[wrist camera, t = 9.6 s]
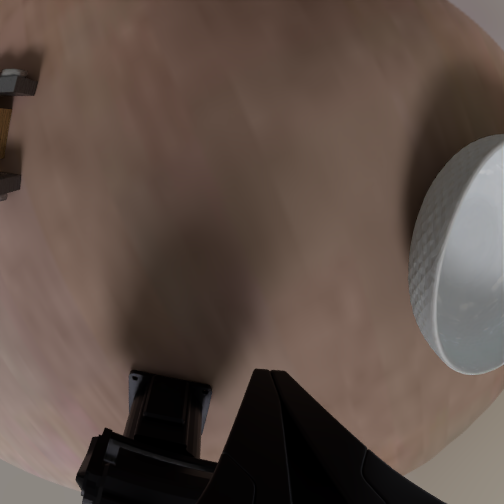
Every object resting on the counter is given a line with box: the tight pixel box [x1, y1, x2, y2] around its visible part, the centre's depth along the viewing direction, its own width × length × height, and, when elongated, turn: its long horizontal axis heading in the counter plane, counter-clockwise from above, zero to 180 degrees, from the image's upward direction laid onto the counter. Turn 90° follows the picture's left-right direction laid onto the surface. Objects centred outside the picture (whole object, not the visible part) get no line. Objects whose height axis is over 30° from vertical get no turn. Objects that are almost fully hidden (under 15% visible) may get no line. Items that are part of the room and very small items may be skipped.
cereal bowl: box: [408, 134, 504, 375], centre depth 17 cm, size 17×17×7 cm
